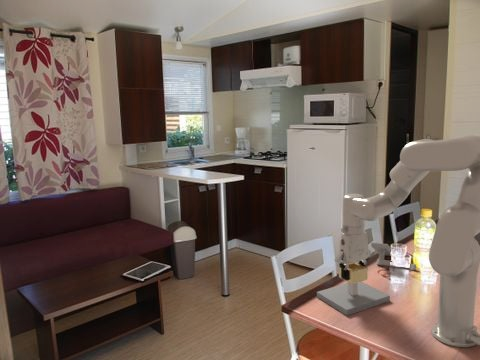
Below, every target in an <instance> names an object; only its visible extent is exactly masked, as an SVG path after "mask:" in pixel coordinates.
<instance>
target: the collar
mask: <svg viewBox="0 0 480 360" xmlns="http://www.w3.org/2000/svg"><path fill="white" fill-rule="evenodd" d="M358 263H359V262H355V263H349V266H348V268H347V269H348V270H349V278H348V280H347V281H346V280H344V279H342V278H341V268H340V267H339V266H338V278H340V279H341V280H344V281H346V283H348V282H349V283H351V284H354V283H358V282H365V281H367V280H368V274H369V273H368V271H369V270H368V269H369V268H368V267H367V266H366V265H365V266H363V265H360V264H358ZM345 264H346V263H344V265H345Z"/></svg>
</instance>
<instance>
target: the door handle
mask: <svg viewBox="0 0 480 360" xmlns="http://www.w3.org/2000/svg"><path fill="white" fill-rule="evenodd" d="M370 245H371V248H373V250H374V251H376V253H378V258H377V259H376V265H377V266H381V267H384V266H388V267H391V266H390V261H391V260H387V259H385V257H391V256H390V252H391V249H392V248H391V246H390V245H389V244H388V243H380V242H370ZM409 264H410V269H409V270H410V271H416V270H417V264H416V263H409Z"/></svg>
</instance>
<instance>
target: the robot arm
mask: <svg viewBox="0 0 480 360" xmlns="http://www.w3.org/2000/svg"><path fill="white" fill-rule="evenodd" d="M464 170H467V172H466V175H465V178H464V179H463V182H462V184H461V188H460V192H459V195H458V198H457V200H456V202H455V204H453V205H452V206H449V207H448V208H445V210H443V211H442V213H441V214H440V217H439V218H438V220H437V224H436V227H435V230H434V233H433V237H432V241H431V244H430V247H429V252H428V260H429V264H430V266H431V268H432V269H433V271H435V273H437V274H439V275H440V276H439V286H438V287H439V289H438V304H437V305H438V309H437V322H436V323H435V324H433V325H432V326H431V334H432V336H433V337H434V338H435V339H436V340H438V341H439V342H441V343H443V344H445V345H449V346H452V347H457V348H472V347H474V346H476V345H477V346H479V347H480V333H479V331H478V326H476V325H475V324H474V323H475V312H476V311H475V309H476V295H477V294H476V292H477V286H478V285H477V281H478V274H479V269H480V244H479V242H478V241H477V240H476V238H475V236H477V235H478V234H479V233H480V136H479V135H466V136H462V137H457V138H449V139H437V140H434V139H431V138H424V139H417V140H414V141H413V140H412V141H411V142H410V141H409V142H408V143H407V144H405V145H404V147H402V149H401V151H400V154H399V161H398V162H397V163H396V165H395V166H394V167H393V168H392V169H391V170H390V172H389V178H390V179H391V180H390V182H389V183H388V184H387V185H386V186H385V187H384V188H383V190H382V191H380V192H379V194H376V195H373V196H370V197H367V198H365V196H364V195H363V194H360V193H348V194H345V195H344V196H343V197H342V228H341V229H340V231H341V234H340V239H339V241H340V242H339V247H338V248H339V252H338V255H337V256H336V257H335V259H334V262H335V263H336V265H337V266H338V268H339V267H340V268H341V278H342V279H341V278H340V279H341V280H343V279H344V281H345V280H346V282H347V280H348V278H349V270H348V269H347V268H348V266H349V263H355V262H356V263H358V264H360V265H363V266H365V267H366V266H367V264H368V263H367V262H368V260H369V258H370V256H371V254H372V250H370V249H369V240H368V238H369V237H368V232H367V231H366V227H365V226H366V222H373V221H376V220H378V219H380V218H384V217H386V216H389V215H390V214H391V213H393V212H394V211H395V210H396V209H397V208H398V207H399V206H400V205H402V203H403V202H404V201H405V200H406V199H407V198H408V196H409V195H410V193H411V192H412V191H413V189H414V188H415V187H416V186H417V185H418V184H419V182H421V181H422V180H423V179H424V178H425V177H426V176H427V175H428V174H430V172H456V171H464ZM344 264H345V265H344Z"/></svg>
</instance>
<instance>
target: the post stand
mask: <svg viewBox="0 0 480 360" xmlns="http://www.w3.org/2000/svg"><path fill="white" fill-rule="evenodd" d="M316 297H317V298H318V299H320V300H321V301H323V302H325V303H326V304H328V305H329V306H330V307H332V308H334V309H335V310H337V311H339V312H340V313H342V314H343V315H345V316H349V315H353V314H355V313H358V312H361V311H364V310H366V309H369V308H373V307H376V306H378V305H381V304H384V303H385V304H386V303H387V302H390V299H391V295H389V294H387V293H386V292H383V291H381V290H380V289H378V288H376V287H374V286H371V285H370V284H367V283H365V282H364V281H361V282H358V283H354V284H351V283H349V282H346V283H342V284H338V285H335V286H333V287H332V286H331V287H329V288H325V289H322V290H319V291H316Z"/></svg>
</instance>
